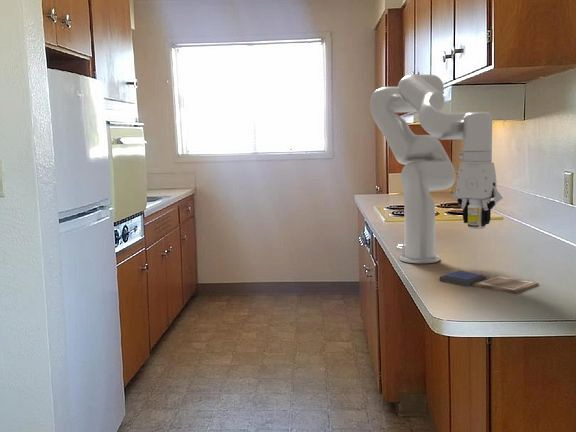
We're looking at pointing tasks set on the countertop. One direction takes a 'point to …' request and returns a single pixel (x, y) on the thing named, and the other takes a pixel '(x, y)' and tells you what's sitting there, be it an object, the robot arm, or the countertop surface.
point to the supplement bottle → (475, 214)
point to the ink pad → (462, 278)
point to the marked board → (506, 284)
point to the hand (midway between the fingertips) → (476, 222)
